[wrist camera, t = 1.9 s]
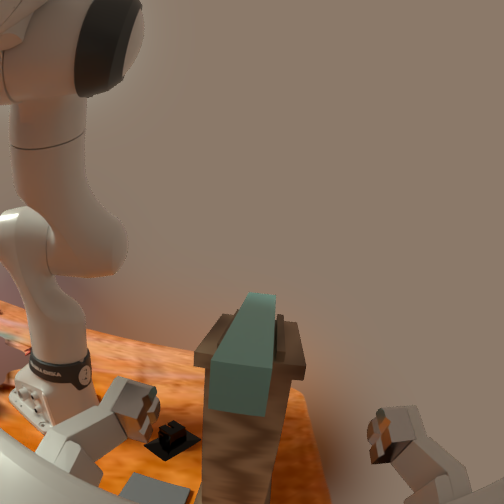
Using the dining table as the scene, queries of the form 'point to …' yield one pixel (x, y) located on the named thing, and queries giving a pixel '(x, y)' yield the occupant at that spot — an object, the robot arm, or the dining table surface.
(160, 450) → the black block on plate
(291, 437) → the dining table surface
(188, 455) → the dining table surface
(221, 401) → the teal square bar
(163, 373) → the dining table surface
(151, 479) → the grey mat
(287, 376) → the walnut stand
